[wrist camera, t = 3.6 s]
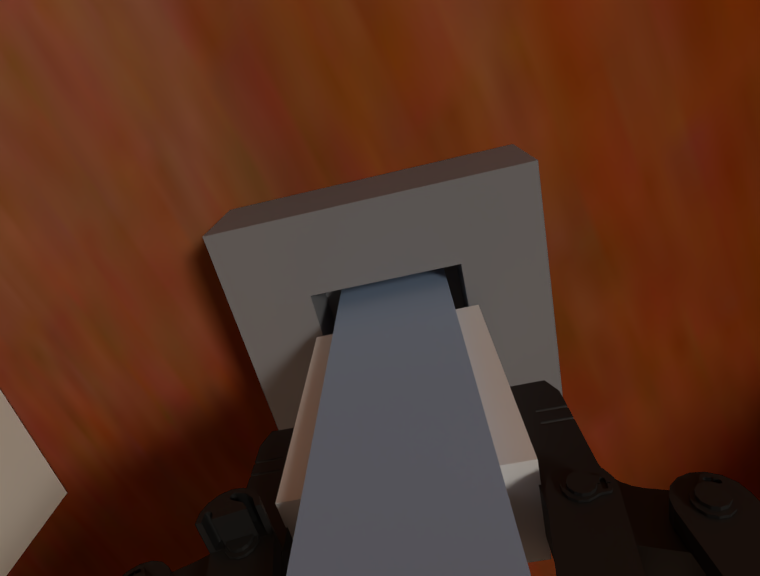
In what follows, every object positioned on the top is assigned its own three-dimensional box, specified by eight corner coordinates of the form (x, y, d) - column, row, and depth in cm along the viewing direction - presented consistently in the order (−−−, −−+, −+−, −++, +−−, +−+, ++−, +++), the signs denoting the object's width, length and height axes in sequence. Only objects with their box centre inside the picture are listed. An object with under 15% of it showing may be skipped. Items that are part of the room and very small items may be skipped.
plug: (442, 263, 18) (553, 655, 6) (459, 349, 19) (576, 804, 7) (342, 284, 18) (263, 692, 6) (366, 367, 19) (338, 827, 8)
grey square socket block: (512, 144, 17) (537, 160, 14) (542, 387, 21) (566, 436, 18) (230, 210, 18) (202, 236, 15) (309, 430, 22) (299, 483, 19)
